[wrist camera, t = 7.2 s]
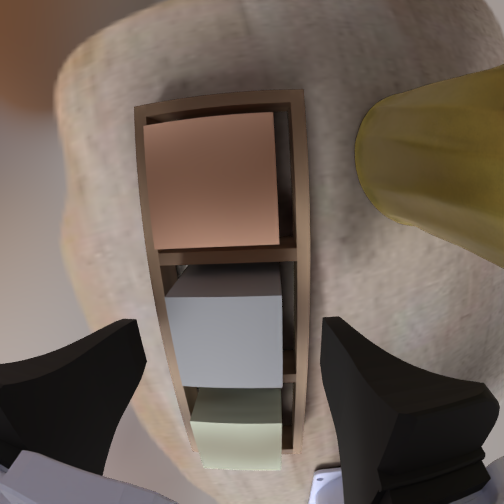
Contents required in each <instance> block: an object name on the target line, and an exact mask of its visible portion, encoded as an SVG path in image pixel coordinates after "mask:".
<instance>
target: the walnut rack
mask: <svg viewBox="0 0 504 504" xmlns="http://www.w3.org/2000/svg"><path fill="white" fill-rule="evenodd" d="M285 111H287V112H288V127H289V145H290V165H291V187H292V216H293V236H279V223H278V198H277V176H276V157H275V138H274V121H273V112H285ZM259 112H265V113H259ZM243 113H247V114H243ZM230 114H233V115H230ZM219 115H222V116H219ZM209 116H211V117H209ZM200 117H202V118H200ZM192 118H194V119H192ZM184 119H186V120H184ZM177 120H178V121H177ZM134 121H135V143H136V159H137V173H138V184H139V195H140V205H141V214H142V222H143V230H144V238H145V245H146V252H147V259H148V265H149V272H150V278H151V284H152V289H153V295H154V300H155V306H156V311H157V316H158V321H159V326H160V331H161V335H162V340H163V344H164V349H165V353H166V358H167V362H168V366H169V370H170V374H171V378H172V382H173V386H174V390H175V393H176V397H177V401H178V404H179V408H180V411H181V415H182V418H183V422H184V425H185V428H186V432H187V435H188V438H189V441H190V444H191V448H192V451H193V452H199V454H200V457H201V461H202V464H203V467H204V468H209V469H223V470H250V471H272V470H281V454H301V452H302V441H303V430H304V417H305V403H306V387H307V369H308V347H309V317H310V202H309V172H308V150H307V131H306V115H305V101H304V89H289V90H261V91H244V92H232V93H221V94H212V95H203V96H195V97H188V98H181V99H174V100H168V101H162V102H156V103H151V104H146V105H141V106H136V107H134ZM170 121H171V122H170ZM163 122H165V123H163ZM282 261H294V350H286V351H282V352H283V383H292V382H293V405H292V425H289V426H282V411H281V388H212V387H200V388H199V392H198V391H197V387H191V386H182V382H181V378H180V373H179V369H178V364H177V360H176V355H175V350H174V346H173V341H172V336H171V331H170V325H169V320H168V315H167V309H166V303H165V296H166V295H167V293H168V292H169V291H170V289H171V288H172V287H173V285H174V284H175V283H176V281H177V280H178V278H177V271H176V265H196V264H227V263H256V262H282Z"/></svg>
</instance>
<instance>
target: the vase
mask: <svg viewBox="0 0 504 504" xmlns="http://www.w3.org/2000/svg"><path fill="white" fill-rule="evenodd" d="M355 165H356V170H357V175H358V178H359V182H360V184H361V186H362V189H363V190H364V192H365V194H366V196H367V197H368V198H369V200H370V201H371V203H372V204H373V205H374V206H375V207H376V208H377V209H378V210H379V211H380V212H381V213H382V214H383V215H385V216H386V217H388V218H389V219H391V220H393V221H395V222H397V223H400V224H404V225H409V226H416V227H418V228H420V229H422V230H423V231H425V232H427V233H429V234H431V235H434V236H436V237H438V238H441V239H443V240H446V241H448V242H451V243H453V244H455V245H458V246H460V247H462V248H464V249H466V250H468V251H470V252H472V253H474V254H476V255H478V256H480V257H482V258H484V259H486V260H488V261H490V262H492V263H494V264H496V265H498V266H499V267H501V268H503V269H504V64H502V65H500V66H497V67H494V68H492V69H489V70H484V71H480V72H475V73H471V74H467V75H463V76H460V77H456V78H452V79H448V80H444V81H440V82H436V83H432V84H429V85H425V86H422V87H419V88H416V89H413V90H410V91H406V92H403V93H398V94H394V95H392V96H389V97H387V98H385V99H383V100H381V101H379V102H378V103H376V104H375V105H374V106H373V107H372V108H371V109H370V110H369V111H368V113H367V114H366V116H365V117H364V119H363V121H362V123H361V125H360V128H359V131H358V135H357V138H356V142H355Z"/></svg>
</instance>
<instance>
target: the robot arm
mask: <svg viewBox="0 0 504 504" xmlns="http://www.w3.org/2000/svg"><path fill="white" fill-rule="evenodd" d="M146 362H147V360H146V356H145V352H144V349H143V345H142V341H141V337H140V333H139V329H138V324H137V320H136V319H122V320H119V321H116V322H114V323H112V324H110V325H108V326H106V327H104V328H102V329H100V330H98V331H96V332H94V333H92V334H90V335H88V336H86V337H84V338H82V339H80V340H78V341H76V342H74V343H72V344H70V345H67V346H65V347H63V348H61V349H58V350H56V351H53V352H50V353H47V354H45V355H41V356H38V357H34V358H30V359H27V360H22V361H18V362H12V363H5V364H0V504H179V503H177V502H175V501H173V500H171V499H169V498H167V497H165V496H163V495H161V494H159V493H157V492H155V491H152V490H148V489H145V488H142V487H139V486H136V485H133V484H130V483H126V482H122V481H118V480H114V479H110V478H107V477H104V476H102V475H103V471H104V467H105V463H106V459H107V456H108V452H109V448H110V445H111V442H112V439H113V436H114V434H115V431H116V428H117V426H118V423H119V421H120V419H121V417H122V415H123V413H124V411H125V409H126V408H127V406H128V404H129V402H130V400H131V398H132V396H133V394H134V392H135V390H136V388H137V386H138V384H139V382H140V380H141V378H142V375H143V372H144V369H145V366H146ZM320 366H321V373H322V380H323V385H324V389H325V393H326V396H327V400H328V403H329V407H330V411H331V414H332V418H333V421H334V425H335V429H336V434H337V439H338V446H339V454H340V462H341V467H339V468H331V469H321V470H317V471H315V472H314V475H313V481H312V486H311V491H310V496H309V501H308V504H504V456H503V457H501V458H499V459H497V460H495V461H493V462H492V463H491V464H489V465H488V466H487V467H486V468H485V466H484V464H483V462H482V460H483V459H484V457H485V452H484V451H483V449H482V447H481V446H482V445H483V443H484V442H485V440H486V438H487V437H488V435H489V433H490V432H491V430H492V428H493V427H494V425H495V423H496V420H497V418H498V415H499V409H500V406H499V403H498V401H497V399H496V398H495V397H494V395H493V394H492V393H491V392H490V390H489V389H488V388H487V386H486V385H485V384H484V383H480V382H473V381H466V380H459V379H454V378H450V377H446V376H442V375H439V374H435V373H432V372H429V371H426V370H424V369H421V368H418V367H416V366H413V365H411V364H409V363H406V362H404V361H402V360H401V359H399V358H397V357H395V356H393V355H391V354H389V353H388V352H386V351H384V350H383V349H381V348H380V347H378V346H377V345H375V344H374V343H372V342H371V341H369V340H368V339H367V338H365V337H364V336H363V335H361V334H360V333H359V332H358V331H356V330H355V329H354V328H353V327H351V326H350V325H349V324H348V323H347V322H345V321H344V320H343V319H342V318H340V317H339V316H338V317H323V321H322V339H321V355H320Z"/></svg>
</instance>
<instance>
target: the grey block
mask: <svg viewBox="0 0 504 504" xmlns="http://www.w3.org/2000/svg"><path fill="white" fill-rule="evenodd" d="M165 303H166V309H167V315H168V320H169V325H170V331H171V336H172V341H173V346H174V350H175V355H176V360H177V364H178V369H179V373H180V378H181V382H182V386H191V387H212V388H283V352H282V291H281V280H280V269H279V262H256V263H227V264H196V265H188V267H187V268H186V269H185V271H184V272H183V273H182V275H181V276H180V277H179V279H178V280H177V281H176V283H175V284H174V285H173V287H172V288H171V289H170V291H169V292H168V293H167V295H166V296H165Z"/></svg>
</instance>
